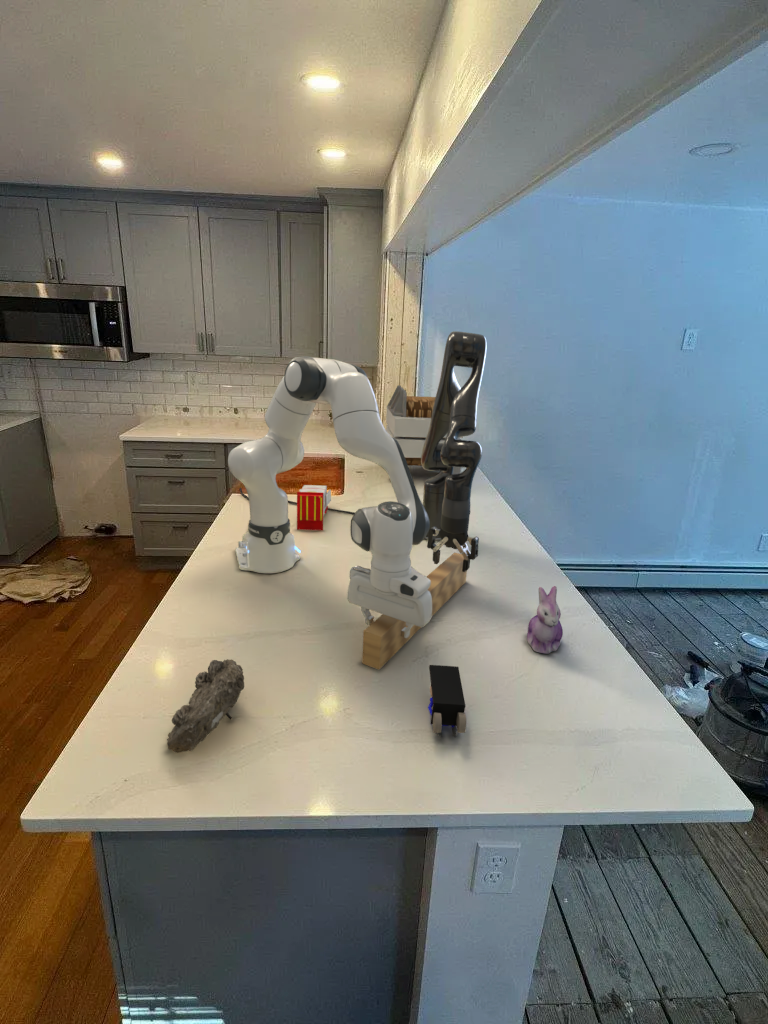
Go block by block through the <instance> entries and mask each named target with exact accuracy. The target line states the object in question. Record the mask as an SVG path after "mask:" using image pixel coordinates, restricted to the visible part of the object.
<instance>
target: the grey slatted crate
mask: <svg viewBox="0 0 768 1024" xmlns="http://www.w3.org/2000/svg"><path fill="white" fill-rule="evenodd" d="M407 394H408V393H407V390H406V389H404V388H403V387H402V385H399V384H398V385H397V386H396V388H395V390H394V392H393V394H392V395H391V398H390V400H389V402H388V404H387V405H386V413H385V414H386V415H385V423H386V428H385V429H386V431H387V432H388V434H389V435H390V436H391V437H393V438H394V439H396V440H397V441H398V443H399V445H400V447H401V449H402V452H403V454H404V457H405V459H406V462H407V465H408V467H409V466H411V467H412V466H413V467H415V466H416V467H417V466H418V467H422V464H421V454H422V449H423V446H424V443H425V440H426V437H427V434H428V430H429V426H430V422H431V416H432V411H433V406H434V401H435V398H436V396H415V395H414V396H413V395H412V396H411V395H407ZM446 437H447V435H446V436H444V437H443V438H442V439H441V440H440V442H439V443H444V442H445V439H446ZM463 438H464V437H460V438H458V439H456V440H462V439H463ZM440 472H441V471H439V473H440ZM461 472H462V467H454V469H453V474H457V473H461Z"/></svg>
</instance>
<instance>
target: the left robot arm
mask: <svg viewBox="0 0 768 1024" xmlns="http://www.w3.org/2000/svg"><path fill="white" fill-rule="evenodd" d="M317 404H320V405H329V406H330V410H331V416H332V424H333V429H334V434H335V438H336V440H337V443H338V445H339V446H340V447H341V448H342V449H343V450H344V451H345V452H346V453H348V454H349V455H351V456H353V457H356V458H359V459H361V460H365V461H368V462H371V463H374V464H376V465H377V466H379V467H381V468H382V469H384V471H385V472H386V473H387V476H388V478H389V481H390V484H391V487H392V489H393V493H394V495H395V498H396V501H383V502H381V503H379V504H378V505H374V506H373V505H372V506H365V507H362V508H358V509H357V510H356V511H354V512H355V514H352V517H351V519H350V538H351V540H352V542H353V543H354V544H355V545H356V546H357V547H359V548H360V549H362V550H363V551H365V552H369V553H370V554H371V559H370V568H368V567H363V566H360V565H355V566H352V567H351V568H350V569H349V583H348V587H347V594H346V599H347V601H348V602H349V604H351V605H354V606H358V607H360V612H361V614H362V616H363V617H364V624H365V625H367V626H369V625H371V624H372V623H373V622H374V621H375V616H374V615H372V614H371V611H373V612H375V613H378V614H381V615H382V614H384V615H387V616H390V617H393V618H395V619H398V620H401V621H404V622H406V626H408V627H404V628H403V629H402V630H401V637H404V638H408V637H409V635H410V629H411V628H412V627H413V626H414V625H416V626H419V627H421V628H423V627H425V626H426V625H427V624H428V623H429V622H430V621H432V617H433V616H432V597H431V594H430V592H429V591H428V588H429V587H430V585H431V581H430V579H429V578H427V576H426V575H425V574H423V573H421V572H419V571H418V570H417V569H415V568H414V567H413V566H412V560H411V552H412V549H413V546H418V545H420V544H421V543H422V542H423V541H424V540H425V539H424V538H425V537H426V535H427V533H428V531H429V528H430V522H429V517H428V514H427V512H426V510H425V508H424V506H423V501H422V500H421V498H420V496H419V493H418V490H417V487H416V485H415V482H414V480H413V477H412V474H411V471H410V467H409V466H408V465H407V462H406V459H405V457H404V454H403V452H402V449H401V447H400V445H399V443H398V441H397V440H396V439H394V438H393V437H391V436H390V435H389V434H388V432H387V431H386V428H385V426H384V424H383V421H382V419H381V415H380V410H379V406H378V400H377V397H376V395H375V391H374V389H373V386H372V383H371V381H370V380H369V378H368V374H367V373H366V372H365V370H364V369H363V368H361V367H360V366H358V365H356V364H354V363H348V362H344V361H341V360H338V359H334V358H325V357H312V356H310V355H300V356H296V357H295V356H294V357H293V358H292V359H291V360H290V361H289V362H288V364H287V366H286V367H285V371H284V374H283V377H282V378H281V379H280V381H279V383H278V385H277V387H276V388H275V391H274V393H273V395H272V398H271V399H270V402H269V404H268V406H267V409H266V411H265V413H264V421H265V424H266V426H267V428H268V431H267V432H266V434H265V435H264V436H263V437H261V438H260V437H259V438H257V439H252V440H248V441H244V442H242V443H241V444H238V445H237V446H236V447H234V448H232V449H231V450H230V451H229V454H228V455H227V456H228V457H227V466H228V469H229V471H230V473H231V475H232V476H233V477H234V478H235V479H236V480H237V481H239V482H240V483H241V484H242V485H243V486H244V488H245V491H246V493H247V495H246V494H244V493H243V489H242V487H239V488H238V490H239V493H240V495H241V496H243V497H244V498H245V499H247V500H248V503H249V520H248V523H247V524H248V525H247V527H248V528H247V531H246V532H245V533H244V534H242V536H241V537H242V540H239V541H238V542H237V547H235V551H234V552H235V555H236V559H237V563H238V567H239V568H238V569H240V571H247V572H248V571H249V572H250V571H251V572H254V573H257V574H258V573H259V574H277V573H281V572H285V571H288V570H290V569H292V568H293V567H294V566H295V563H296V562H298V561H300V559H301V556H300V554H301V551H302V550H300V549H299V548H298V547H297V546H296V542H295V535H294V534H293V533H291V520H290V518H289V503H288V501H289V497H288V494H287V493H286V491H285V490H283V489H282V488H281V487H279V486H278V483H277V475H279V474H282V473H284V472H285V473H286V472H287V471H290V470H292V469H295V467H297V466H299V464H301V463H302V462H303V460H304V457H305V447H304V444H303V441H302V436H303V432H304V430H305V428H306V426H307V424H308V422H309V420H310V418H311V415H312V414H313V412H314V409H315V407H316V405H317ZM296 552H298V553H299V554H298V553H296Z"/></svg>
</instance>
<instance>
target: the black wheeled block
mask: <svg viewBox="0 0 768 1024" xmlns="http://www.w3.org/2000/svg"><path fill="white" fill-rule="evenodd" d="M428 670H429V677H430V678H429V679H430V686H429V694H430V698H429V701H430V702H429V704H428V705H427V709H428V712H429V714H430V725H432V732H433V734H437V736H438V737H439V738H441V737H442V728H443V727H449V726H450V727H451V734H452V737H454V738H456V737H457V736H458V734H457V733H459V734H465V733H466V731H467V716H466V713H465V710H466V700H465V694H464V690H463V685H462V679H461V678H462V677H461V673H460V667H459V666H453V665H442V664H441V665H440V664H439V665H438V664H429V666H428ZM442 726H443V727H442Z"/></svg>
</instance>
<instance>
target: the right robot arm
mask: <svg viewBox="0 0 768 1024" xmlns="http://www.w3.org/2000/svg"><path fill="white" fill-rule="evenodd" d="M486 357H487V339H486V336H485V335H483V334H479V333H473V332H467V331H466V332H464V331H460V330H459V331H457V330H453V331H451V332H450V333H449V334H448V336H447V339H446V342H445V347H444V352H443V358H442V365H441V371H440V378H439V383H438V387H437V390H436V393H435V397H436V398H435V401H434V406H433V411H432V416H431V422H430V426H429V430H428V434H427V437H426V440H425V443H424V446H423V449H422V454H421V464H422V466H421V467H422V468H423V470H425V471H428V472H429V471H432V472H439V473H437V474H435V475H434V476H431V477H429V478H427V479H425V480H424V482H423V493H422V496H423V497H422V504H423V506H424V508H425V510H426V512H427V514H428V517H429V522H430V528H429V531H428V533H427V535H426V537H425V538H424V539H423V540H426V541H427V544H426V547H427V549H431V550H432V562H433V564H434V565H438V564H439V563H440V561H441V560H440V559H441V549H442V547H443V546H445V548H449V549H452V550H457V551H458V553H459V554H462V556H463V557H464V560H463V568H462V572H466V571H467V572H468V570H469V569H470V568H471V561H474V560H475V559H476V558H477V557H478V556H479V542H480V541H479V540H480V539H479V537H478V536H475V537H474V536H469V524H470V515H471V496H472V487H473V481H474V478H475V474H476V472H477V470H478V467H479V465H480V462H481V459H482V458H483V457H482V456H483V447H482V446H481V444H480V442H478V441H475V440H467V439H466V440H465V439H461V438H460V437H463V438H465V437H469V436H471V435H473V434H475V432H476V431H477V419H478V402H479V396H480V392H481V391H480V390H481V386H482V380H483V375H484V369H485V364H486V363H485V362H486ZM454 367H461V368H468V369H471V371H470V375H469V377H468V379H467V380H466V381H465V383H463V385H462V387H461V386H460V384H459V382H458V380H457V378H456V374H455V369H454ZM446 435H447V437H446V439H445V442H444V443H439V442H440V440H441V439H442V438H443V437H444V436H446ZM458 438H460V439H461V440H456V439H458ZM454 467H461V468H465V469H464V470H463V471H461V473H457V474H453V469H454ZM440 471H441V472H440ZM288 504H292V505H296V506H297V501H291V500H288ZM327 511H330V512H336V513H343V514H348V515H354V514H355V512H356V511H349V510H343V509H342V510H341V509H335V508H330V507H328V509H327ZM436 542H437V544H436ZM467 542H468V544H469V546H470V549H469V546H468V544H467Z"/></svg>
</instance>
